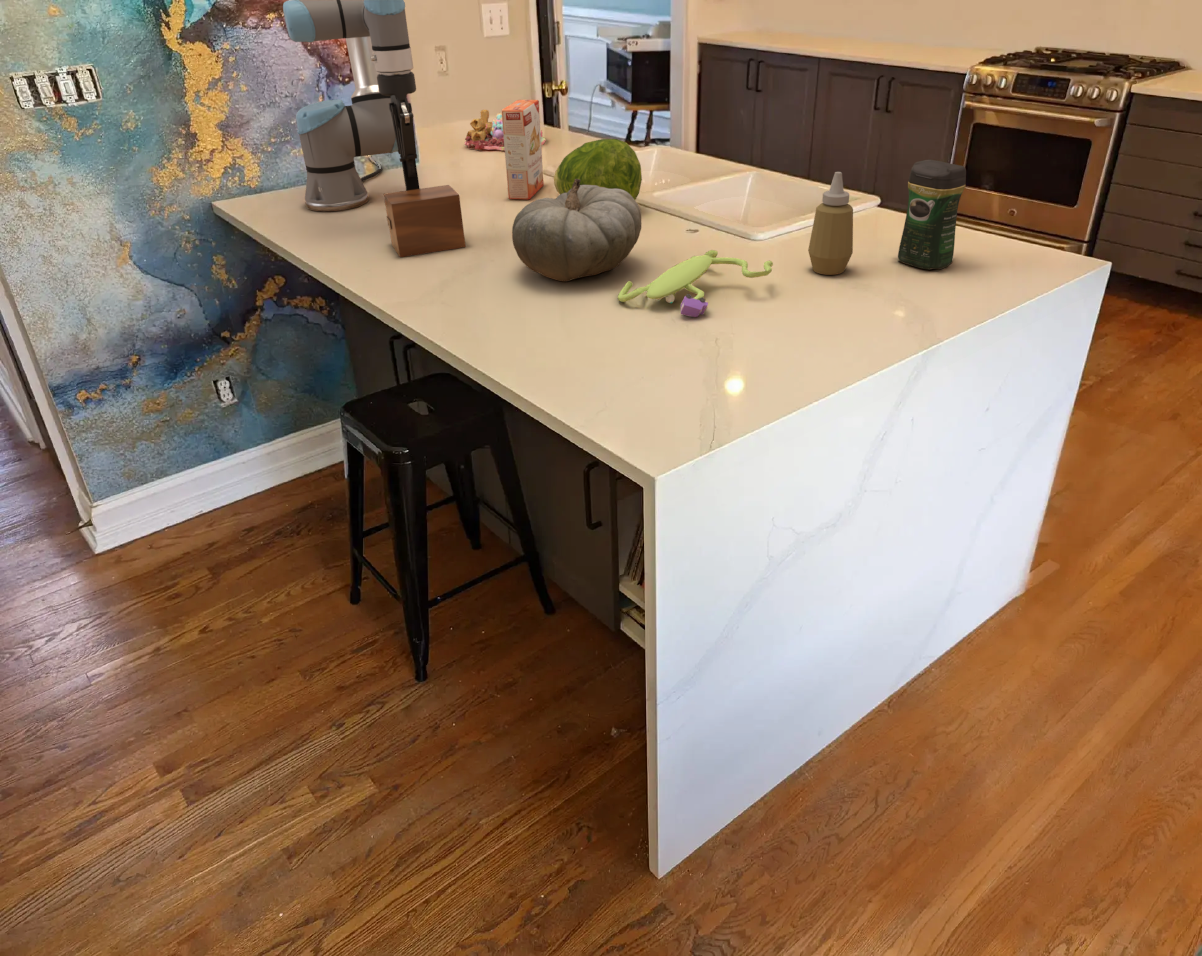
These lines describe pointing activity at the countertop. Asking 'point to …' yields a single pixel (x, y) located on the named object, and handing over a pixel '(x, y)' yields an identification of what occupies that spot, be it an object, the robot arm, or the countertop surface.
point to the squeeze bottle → (832, 231)
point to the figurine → (688, 281)
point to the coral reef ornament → (488, 133)
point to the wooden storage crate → (425, 220)
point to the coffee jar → (931, 214)
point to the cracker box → (523, 148)
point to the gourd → (577, 232)
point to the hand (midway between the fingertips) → (413, 190)
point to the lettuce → (601, 167)
